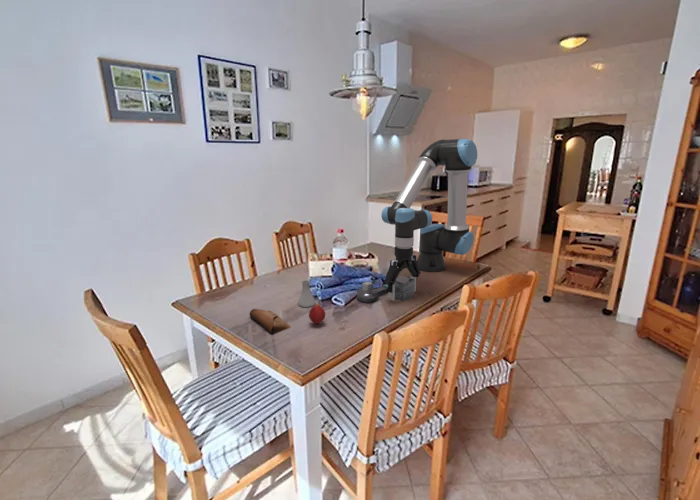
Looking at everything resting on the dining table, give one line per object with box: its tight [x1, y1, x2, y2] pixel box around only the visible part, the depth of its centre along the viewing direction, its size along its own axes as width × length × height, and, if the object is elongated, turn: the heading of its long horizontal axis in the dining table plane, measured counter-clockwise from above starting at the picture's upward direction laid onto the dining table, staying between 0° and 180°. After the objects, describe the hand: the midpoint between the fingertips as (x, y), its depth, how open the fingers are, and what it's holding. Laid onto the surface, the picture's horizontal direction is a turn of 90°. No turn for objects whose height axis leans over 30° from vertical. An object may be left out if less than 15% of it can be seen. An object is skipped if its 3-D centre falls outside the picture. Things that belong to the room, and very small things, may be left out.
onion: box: [308, 303, 326, 325], centre depth 129 cm, size 6×6×8 cm
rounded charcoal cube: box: [394, 275, 415, 303], centre depth 151 cm, size 7×7×8 cm
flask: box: [297, 279, 317, 308], centre depth 146 cm, size 7×7×10 cm
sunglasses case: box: [249, 308, 292, 335], centre depth 132 cm, size 18×7×7 cm
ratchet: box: [356, 281, 389, 304], centre depth 155 cm, size 24×9×7 cm, turn 131°
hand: (402, 294), depth 152 cm, fingers open, 13 cm apart
